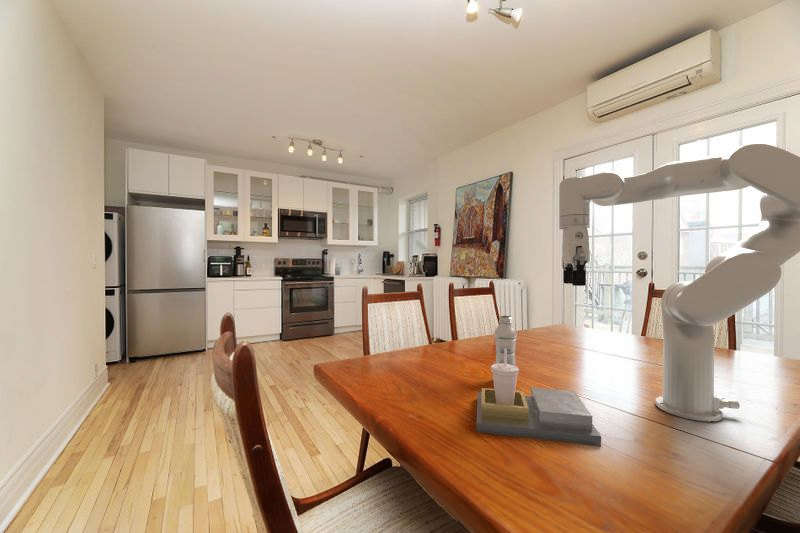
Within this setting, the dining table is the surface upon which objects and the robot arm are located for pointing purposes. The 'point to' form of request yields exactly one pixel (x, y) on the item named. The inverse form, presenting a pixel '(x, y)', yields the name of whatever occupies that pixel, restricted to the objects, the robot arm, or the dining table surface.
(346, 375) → the dining table surface
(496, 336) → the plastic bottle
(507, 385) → the smoothie
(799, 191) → the robot arm
